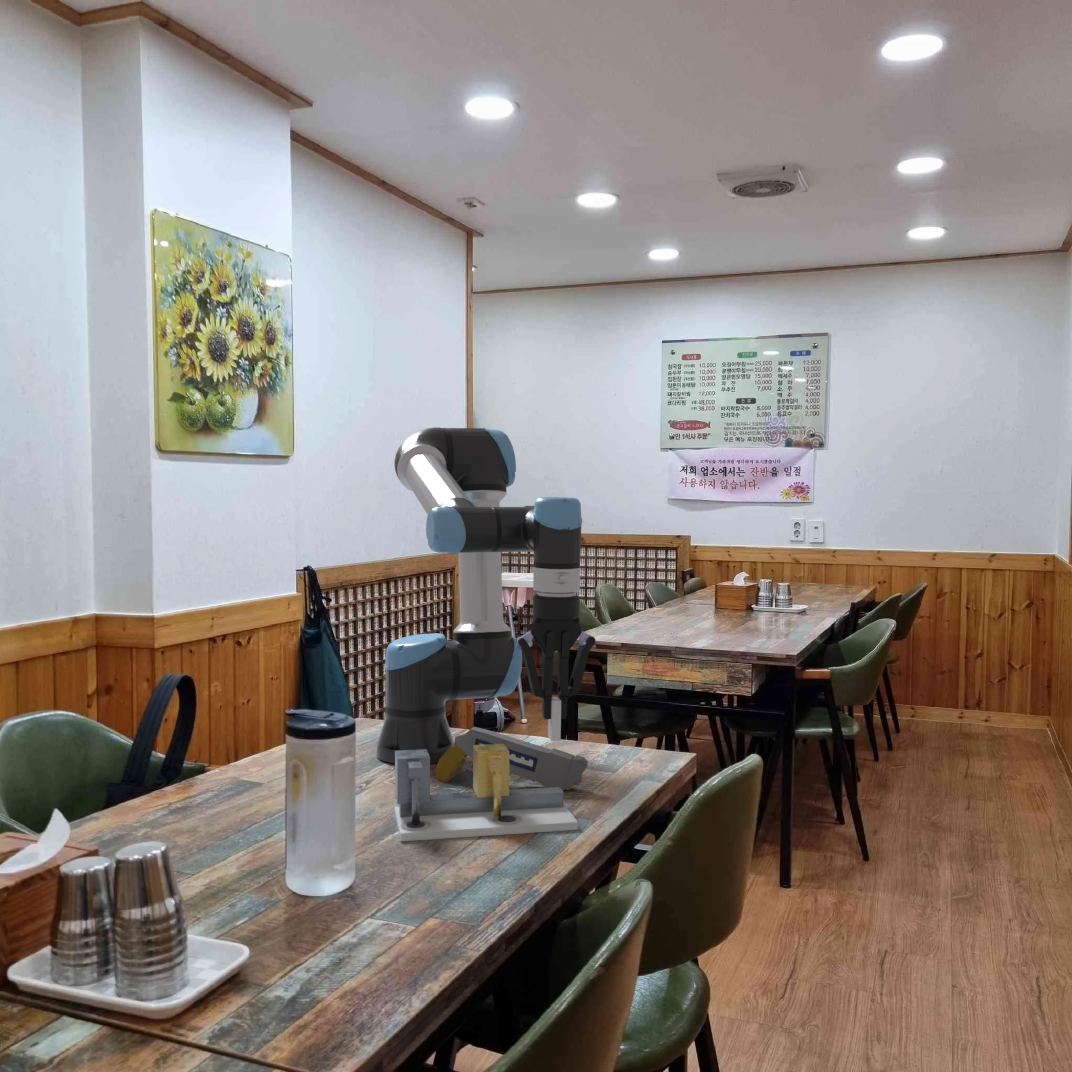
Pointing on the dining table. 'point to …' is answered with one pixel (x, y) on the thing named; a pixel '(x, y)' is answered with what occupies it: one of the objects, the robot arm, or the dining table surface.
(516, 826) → the bolt plate
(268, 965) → the dining table surface
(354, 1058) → the dining table surface
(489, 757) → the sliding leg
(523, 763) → the gun
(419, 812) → the grey sliding rail fixture
